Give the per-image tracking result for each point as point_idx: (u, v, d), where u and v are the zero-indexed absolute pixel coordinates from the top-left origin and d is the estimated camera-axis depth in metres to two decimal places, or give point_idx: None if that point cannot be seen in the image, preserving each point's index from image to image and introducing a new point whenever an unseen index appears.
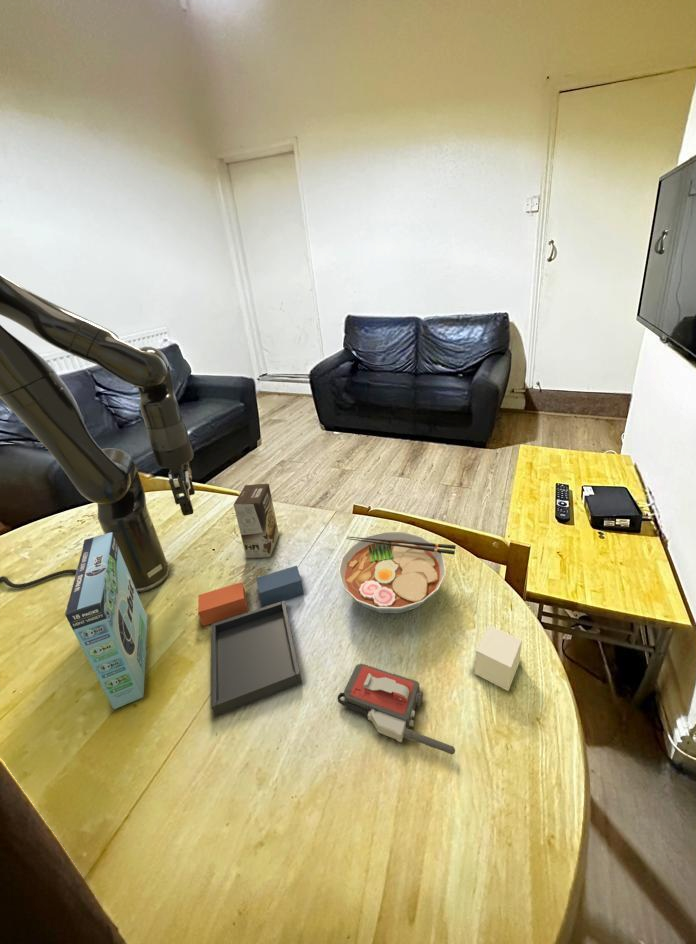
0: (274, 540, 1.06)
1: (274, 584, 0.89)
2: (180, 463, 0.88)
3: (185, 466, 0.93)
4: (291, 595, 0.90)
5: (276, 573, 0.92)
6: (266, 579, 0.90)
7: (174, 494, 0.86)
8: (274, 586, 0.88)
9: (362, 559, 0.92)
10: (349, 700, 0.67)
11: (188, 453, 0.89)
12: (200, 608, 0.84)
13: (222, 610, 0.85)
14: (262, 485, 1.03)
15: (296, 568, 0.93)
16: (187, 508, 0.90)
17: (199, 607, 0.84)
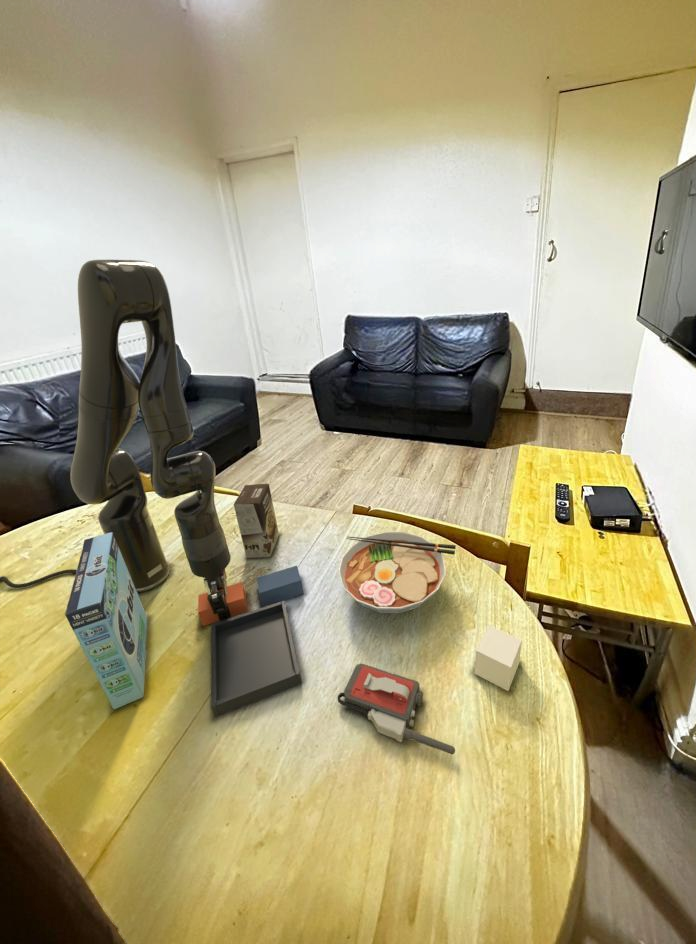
0: (274, 540, 1.06)
1: (274, 584, 0.89)
2: (217, 571, 0.80)
3: None
4: (291, 595, 0.90)
5: (276, 573, 0.92)
6: (266, 579, 0.90)
7: (213, 608, 0.80)
8: (274, 586, 0.88)
9: (362, 559, 0.92)
10: (349, 700, 0.67)
11: (225, 558, 0.81)
12: (200, 608, 0.84)
13: None
14: (262, 485, 1.03)
15: (296, 568, 0.93)
16: (225, 614, 0.84)
17: (199, 607, 0.84)
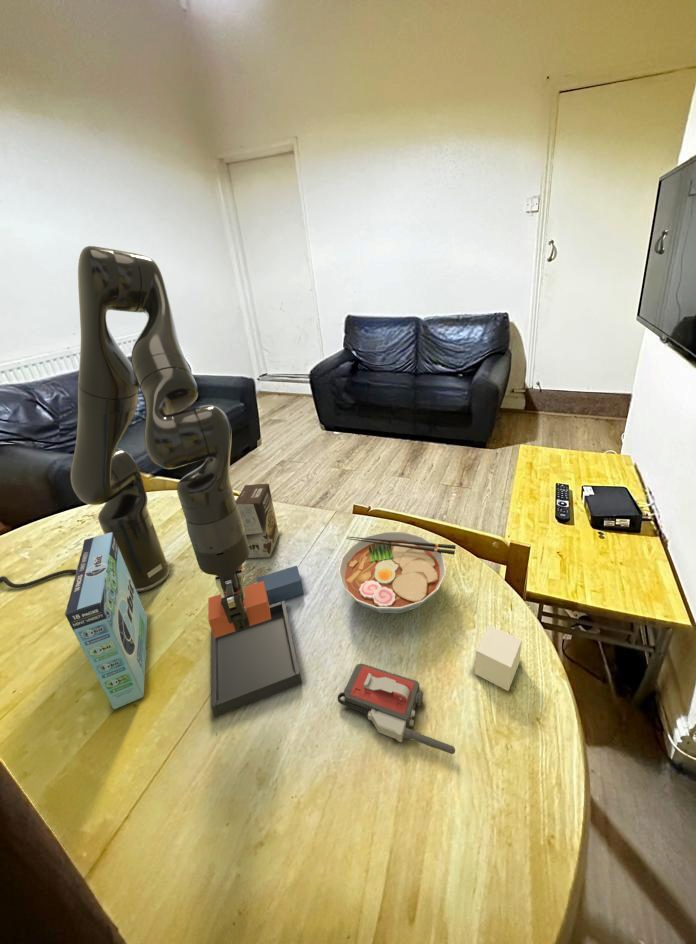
0: (274, 540, 1.06)
1: (274, 584, 0.89)
2: (234, 567, 0.61)
3: None
4: (291, 595, 0.90)
5: (276, 573, 0.92)
6: (266, 579, 0.90)
7: (228, 615, 0.61)
8: (274, 586, 0.88)
9: (362, 559, 0.92)
10: (349, 700, 0.67)
11: (243, 550, 0.62)
12: (211, 615, 0.65)
13: None
14: (262, 485, 1.03)
15: (296, 568, 0.93)
16: (242, 623, 0.65)
17: (210, 614, 0.65)
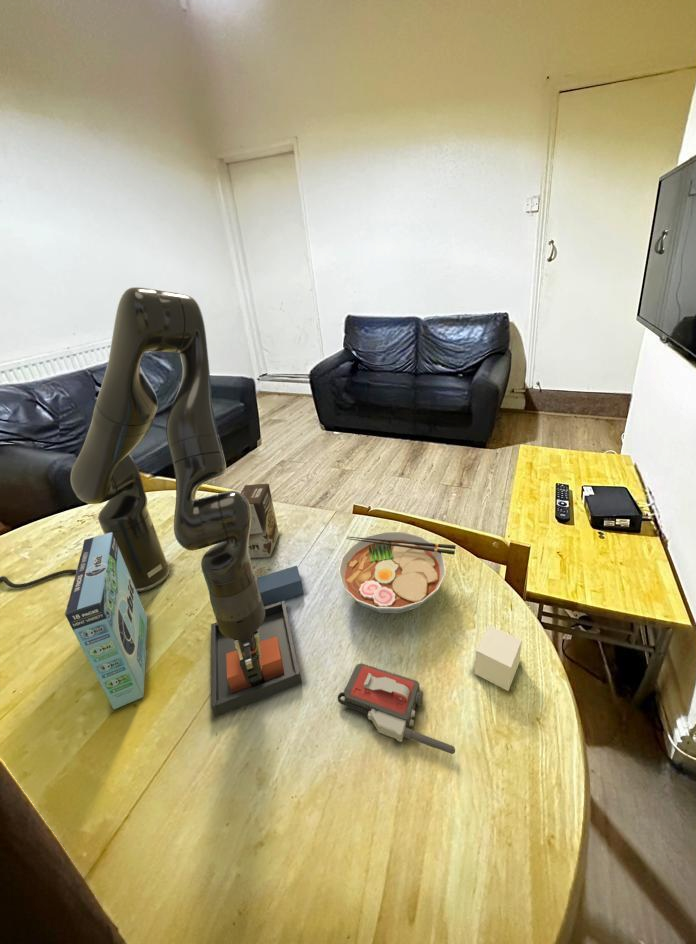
0: (274, 540, 1.06)
1: (274, 584, 0.89)
2: (251, 631, 0.67)
3: None
4: (291, 595, 0.90)
5: (276, 573, 0.92)
6: (266, 579, 0.90)
7: (246, 676, 0.66)
8: (274, 586, 0.88)
9: (362, 559, 0.92)
10: (349, 700, 0.67)
11: (260, 615, 0.68)
12: (229, 672, 0.70)
13: None
14: (262, 485, 1.03)
15: (296, 568, 0.93)
16: (258, 681, 0.70)
17: (228, 671, 0.70)
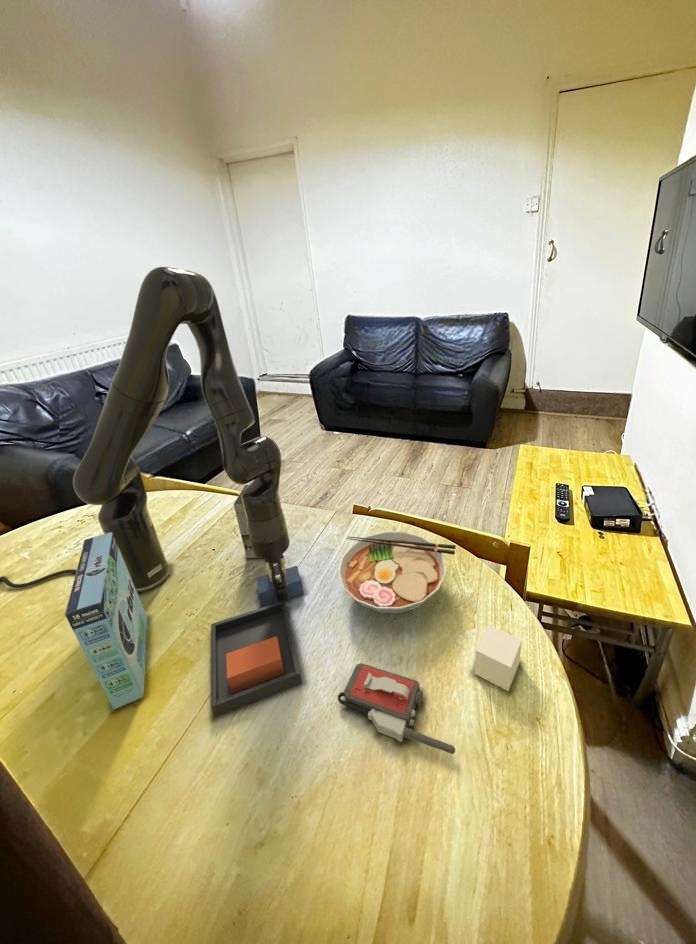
0: None
1: None
2: (279, 553, 0.84)
3: None
4: (291, 594, 0.90)
5: None
6: (266, 579, 0.90)
7: (275, 588, 0.83)
8: None
9: (362, 559, 0.92)
10: (349, 700, 0.67)
11: (286, 541, 0.85)
12: (229, 672, 0.70)
13: (256, 674, 0.71)
14: None
15: (296, 568, 0.93)
16: (283, 596, 0.88)
17: (228, 671, 0.70)
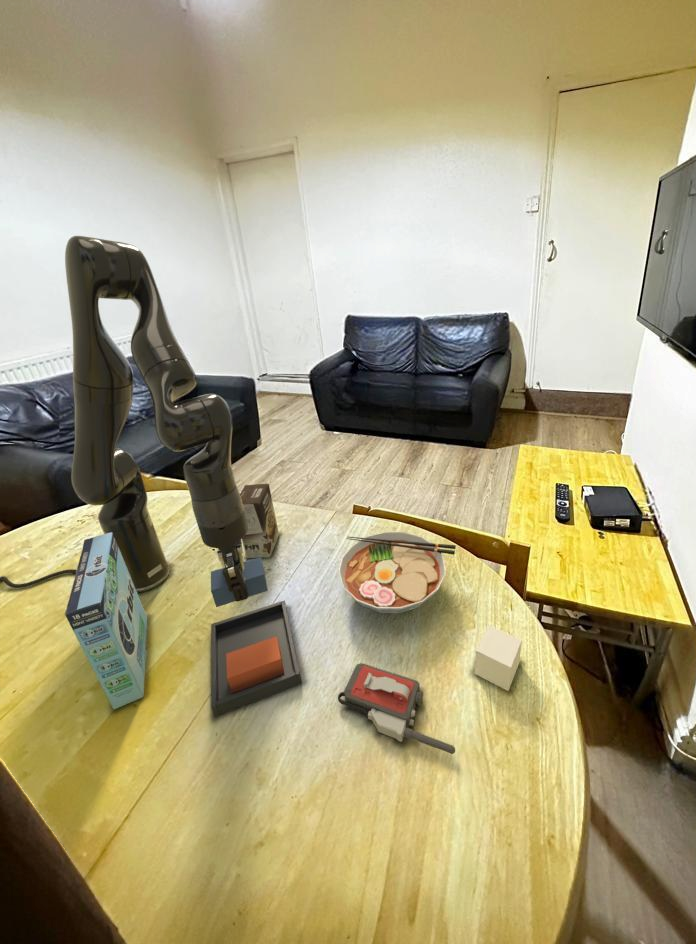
0: (274, 540, 1.06)
1: None
2: (234, 541, 0.68)
3: None
4: (252, 592, 0.74)
5: None
6: (221, 573, 0.74)
7: (229, 584, 0.67)
8: None
9: (362, 559, 0.92)
10: (349, 699, 0.67)
11: (243, 526, 0.69)
12: (229, 672, 0.70)
13: (256, 674, 0.71)
14: (262, 485, 1.03)
15: (259, 560, 0.77)
16: (242, 593, 0.72)
17: (228, 671, 0.70)
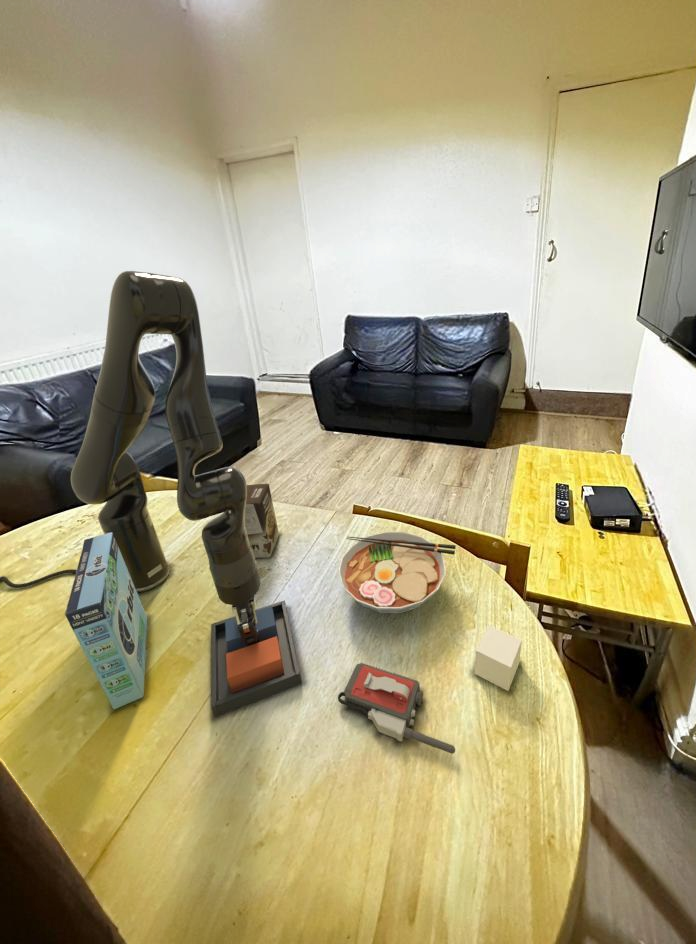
0: (274, 540, 1.06)
1: None
2: (248, 598, 0.73)
3: None
4: None
5: None
6: (235, 623, 0.79)
7: (243, 638, 0.72)
8: None
9: (362, 559, 0.92)
10: (349, 699, 0.67)
11: (256, 584, 0.74)
12: (229, 672, 0.70)
13: (256, 674, 0.71)
14: (262, 485, 1.03)
15: (271, 609, 0.82)
16: None
17: (228, 671, 0.70)
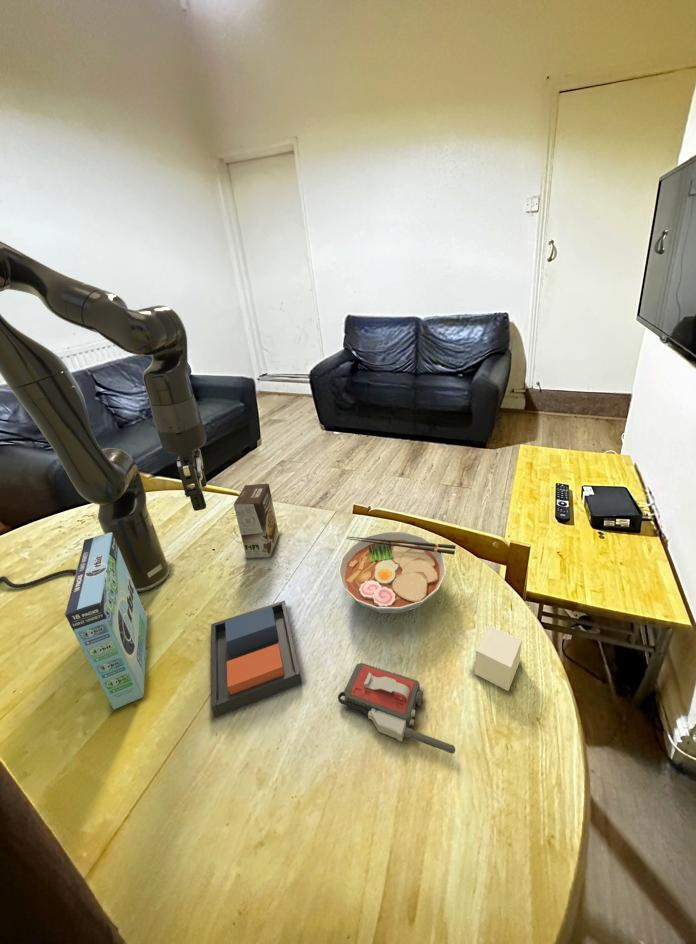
0: (274, 540, 1.06)
1: (244, 630, 0.78)
2: (191, 448, 0.73)
3: (196, 452, 0.78)
4: (264, 641, 0.79)
5: (248, 616, 0.81)
6: (235, 623, 0.79)
7: (184, 485, 0.72)
8: (244, 633, 0.77)
9: (362, 559, 0.92)
10: (349, 699, 0.67)
11: (200, 436, 0.74)
12: (230, 681, 0.69)
13: (257, 682, 0.70)
14: (262, 485, 1.03)
15: (271, 610, 0.82)
16: (199, 502, 0.76)
17: (228, 679, 0.69)
